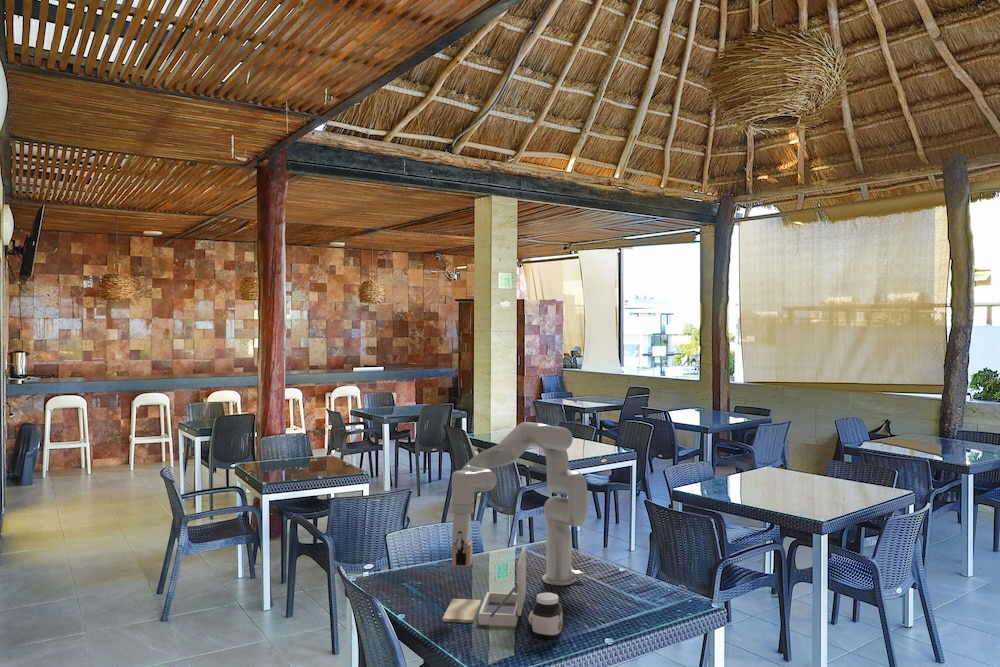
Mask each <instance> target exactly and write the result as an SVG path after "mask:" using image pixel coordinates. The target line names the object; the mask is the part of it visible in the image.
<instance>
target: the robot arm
mask: <svg viewBox="0 0 1000 667" xmlns="http://www.w3.org/2000/svg"><path fill="white" fill-rule="evenodd" d="M572 444H573V434H572V431H571V430H569V429H568V428H566V427H562V426H555V425H551V424H550V425H549V424H545V423H540V422H539V423H538V422H531V421H523V422H521V423H519V424H518V425H516V427H514V428H513V429H512V430H511V431H510V432H509V433H508V434H507V435H505V437H504V438H503V439H502V440H501V441H499V443H498V444H496V445H494V446H492V447H490V448H487V449H485V450H483V451H481V452H479V453H477V454H476V455H475V456H473V457H471V459H470V460H469V461H467V463H465V465H464V466H463V467H462V468H461V470H460V469H459V470H455V471H454V472H452V474H451V513H452V514H453V519H452V521H453V522H452V539H451V541H452V544H455V543H456V541H457V549H456V565H466V553H465V544H467V542H468V541H470V540H471V536H472V535H471V534H472V515H473V514H474V512H475V492H489V491H491V490H493V489H494V488H495V486H496V485H497V482H498V480H497V479H498V478H497V474H496V473H495V472H494V471H492V470H491V469H493V468H498V467H502V466H507V465H511V464H513V463H514V462H516V461H517V460H518V458H520V457H521V456H522V455H523V454H524V453H525V452H526V451H527V450H528V449H529V448H530V447H535V448H540V449H541V450H542V452H543V453H544V456H545V463H546V464H545V465H546V484H547V490H549V491H550V493H553V494H555V495H556V494H557V495H562V496H557V495H556V496H555V495H554V496H551V497H549V498H548V499H547V500H545V502H544V505H543V514H544V519H545V528H546V530H545V531H546V532H545V533H546V544H545V545H546V546H545V548H546V553H545V554H546V557H545V560H546V565H545V566H546V570H545V572H546V573H544V574H543V575H542V577H541V580H542V581H543V583H545V584H548V585H552V586H568V585H573V584H574V583H575V582H576V580H577V579H576V578H584V571H580V570H574V569H573V566H572V541H573V540H572V538H573V537H572V529H571V527H576V528H577V527H582V526H583V525H584V524H585V523H586V521H587V520H588V518H587V517H588V511H589V510H588V507H589V506H588V483H587V481H586V477H585V476H584V475H583V474H582V472H579V471H574V470H571V469H570V464H569V455H568V452H567V450H568V449H570V448H571V446H572ZM564 496H566V497H564ZM570 526H571V527H570ZM462 542H464V544H461V543H462ZM462 545H463V547H462Z"/></svg>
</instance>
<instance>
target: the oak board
mask: <svg viewBox="0 0 1000 667" xmlns="http://www.w3.org/2000/svg"><path fill="white" fill-rule="evenodd" d="M481 605H482V599H467V598H465V599H464V598H452V599H451V601H450V603H449V605H448V607H447V608H446V611H445V612H444V615H443V616H442V618H441V619H442V623H445V622H446V623H465V624H466V623H467V624H474V621H475V619H476V616H477V614H478V613H479V612H478V611H479V610H480V609H479V608H481V607H480V606H481Z"/></svg>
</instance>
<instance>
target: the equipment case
mask: <svg viewBox="0 0 1000 667" xmlns="http://www.w3.org/2000/svg"><path fill="white" fill-rule="evenodd" d="M520 550H521V552H520V555H519V557H518V562H517V564H516V584H515V586H514V587H513V588H512V589H511V590H510V592H495V591H494V592H493V591H486V594H485V596H484V599H483V602H482V603H481V605H480V606H481V607H480V609H479V612H478V625H481V626H497V627H498V626H503V627H517V624H518V619H519V617H521V615H522V611H523V607H524V604H525V599H526V595H527V582H526V581H527V547H526V546H522V548H521V549H520ZM515 591H516V593H515Z"/></svg>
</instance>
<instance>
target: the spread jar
mask: <svg viewBox="0 0 1000 667" xmlns="http://www.w3.org/2000/svg"><path fill="white" fill-rule="evenodd" d="M528 622H529V624H530V625H531V626H532V632H533V633H534V635H535V636H536V637H538V638H541V639H544V640H549V639H550V640H551V639H555V638H557V637H558V636H560V634H561V631H562V629H563V607H562V604H561V603H560V602H559V595H558V594H556V593H553V592H540V593H538V594H536V603H535V604H534V606H533V609H532V610H531V611H530V613H529V615H528Z"/></svg>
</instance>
